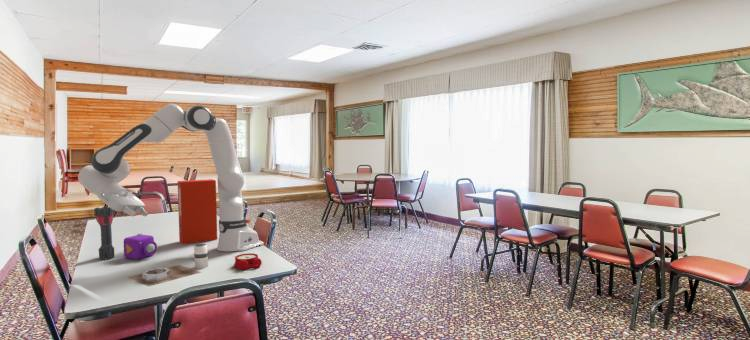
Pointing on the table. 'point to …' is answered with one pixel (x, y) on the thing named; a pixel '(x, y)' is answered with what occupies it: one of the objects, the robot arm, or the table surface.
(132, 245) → the toy camera
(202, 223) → the file binder
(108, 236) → the flashlight
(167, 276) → the ring
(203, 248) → the white lens
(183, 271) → the walnut mount plate
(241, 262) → the alarm clock
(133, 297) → the table surface
